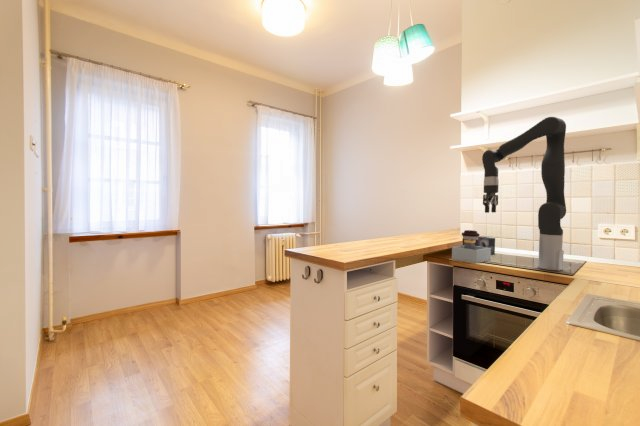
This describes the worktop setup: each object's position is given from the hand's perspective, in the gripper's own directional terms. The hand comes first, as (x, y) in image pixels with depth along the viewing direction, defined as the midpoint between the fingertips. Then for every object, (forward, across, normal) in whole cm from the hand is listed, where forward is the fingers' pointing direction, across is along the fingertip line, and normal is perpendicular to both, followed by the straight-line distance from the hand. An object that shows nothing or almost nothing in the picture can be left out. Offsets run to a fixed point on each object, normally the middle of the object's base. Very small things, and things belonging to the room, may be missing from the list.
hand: (490, 212), depth 176 cm
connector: (+26, -14, +5) cm, 30 cm away
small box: (+27, +14, +9) cm, 32 cm away
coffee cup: (+27, +2, +13) cm, 30 cm away
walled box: (+27, -14, +4) cm, 31 cm away
